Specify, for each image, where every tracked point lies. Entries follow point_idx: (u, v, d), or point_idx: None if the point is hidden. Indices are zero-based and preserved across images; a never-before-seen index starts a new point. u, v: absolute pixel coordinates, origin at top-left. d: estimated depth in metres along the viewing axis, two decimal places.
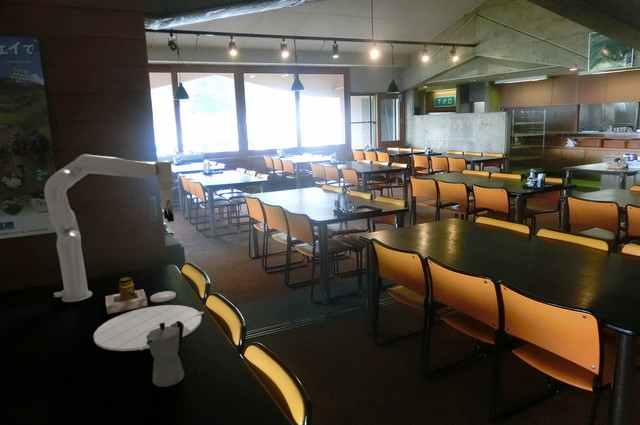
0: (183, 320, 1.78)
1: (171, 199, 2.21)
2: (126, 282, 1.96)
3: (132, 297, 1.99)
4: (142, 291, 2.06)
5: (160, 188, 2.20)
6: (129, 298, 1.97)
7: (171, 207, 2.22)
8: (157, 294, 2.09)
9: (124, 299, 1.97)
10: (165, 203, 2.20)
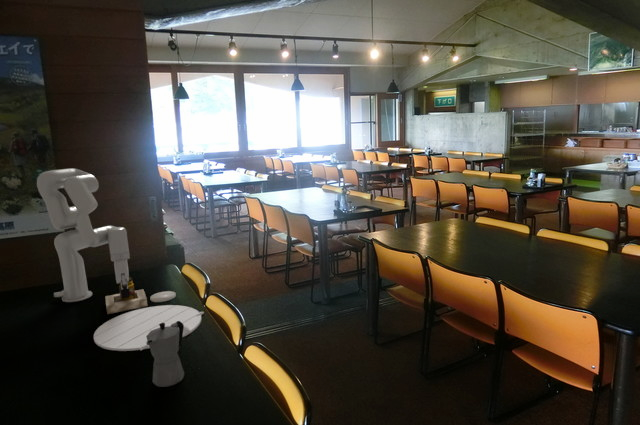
0: (183, 320, 1.78)
1: (125, 272, 1.94)
2: None
3: (132, 297, 1.99)
4: (142, 291, 2.06)
5: (113, 259, 1.93)
6: (129, 298, 1.98)
7: (126, 280, 1.95)
8: (157, 294, 2.09)
9: (124, 299, 1.97)
10: (119, 277, 1.92)
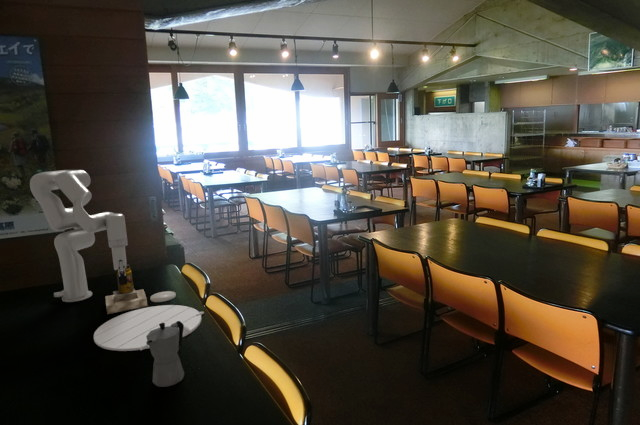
0: (183, 320, 1.78)
1: (123, 259, 1.93)
2: None
3: (130, 284, 1.98)
4: (142, 291, 2.06)
5: (111, 246, 1.92)
6: (126, 285, 1.97)
7: (124, 267, 1.94)
8: (157, 294, 2.09)
9: (121, 286, 1.96)
10: (116, 263, 1.92)
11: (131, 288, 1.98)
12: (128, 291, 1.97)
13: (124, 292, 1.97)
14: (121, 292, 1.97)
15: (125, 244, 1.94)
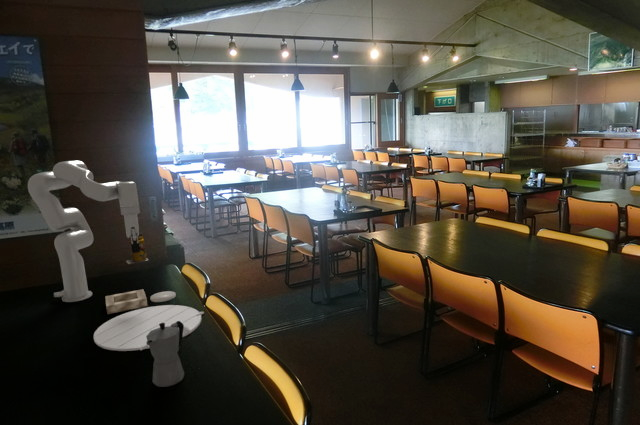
0: (183, 320, 1.78)
1: (135, 226, 1.93)
2: None
3: (142, 252, 1.98)
4: (142, 291, 2.06)
5: (123, 213, 1.92)
6: (139, 253, 1.96)
7: (136, 235, 1.94)
8: (157, 294, 2.09)
9: (134, 254, 1.96)
10: (129, 230, 1.92)
11: (144, 256, 1.98)
12: (141, 259, 1.97)
13: (137, 260, 1.97)
14: (134, 260, 1.97)
15: (137, 212, 1.94)
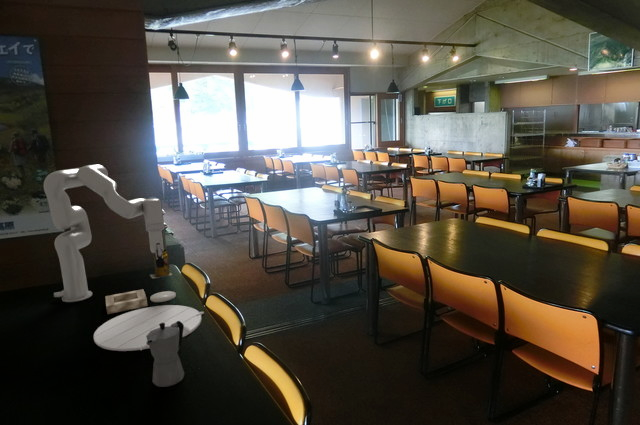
0: (183, 320, 1.78)
1: (160, 242, 1.98)
2: None
3: (166, 267, 2.03)
4: (142, 291, 2.06)
5: (149, 229, 1.98)
6: (163, 268, 2.02)
7: (161, 250, 1.99)
8: (157, 294, 2.09)
9: (159, 269, 2.02)
10: (154, 246, 1.97)
11: (168, 271, 2.04)
12: (165, 274, 2.03)
13: (161, 275, 2.02)
14: (158, 275, 2.02)
15: (162, 228, 2.00)
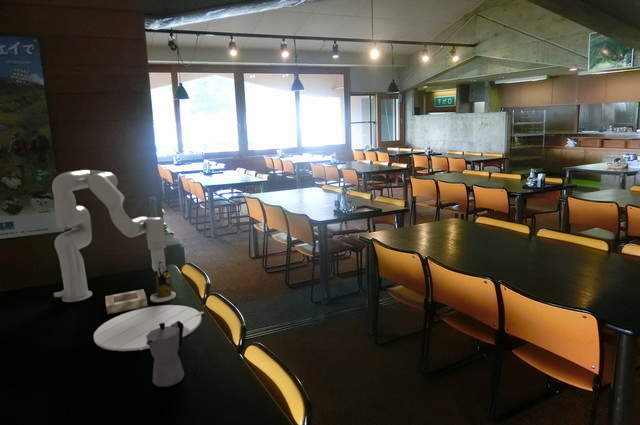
0: (183, 320, 1.78)
1: (162, 260, 2.00)
2: None
3: (168, 288, 2.05)
4: (142, 291, 2.06)
5: (151, 248, 1.99)
6: (165, 289, 2.04)
7: (163, 268, 2.01)
8: None
9: (161, 289, 2.04)
10: (156, 265, 1.99)
11: (169, 291, 2.06)
12: (167, 294, 2.05)
13: (163, 295, 2.04)
14: (160, 295, 2.05)
15: (164, 246, 2.02)
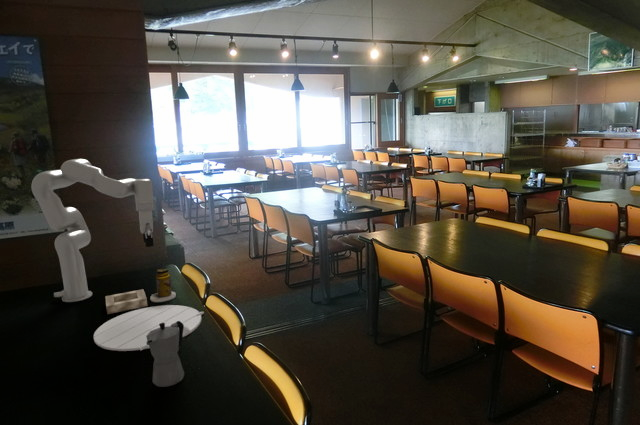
0: (183, 320, 1.78)
1: (150, 222, 1.99)
2: (162, 273, 2.03)
3: (168, 288, 2.05)
4: (142, 291, 2.06)
5: (139, 209, 1.98)
6: (165, 289, 2.04)
7: (150, 230, 2.00)
8: None
9: (161, 289, 2.04)
10: (144, 226, 1.98)
11: (169, 291, 2.06)
12: (167, 294, 2.05)
13: (163, 295, 2.04)
14: (160, 295, 2.05)
15: (152, 208, 2.01)
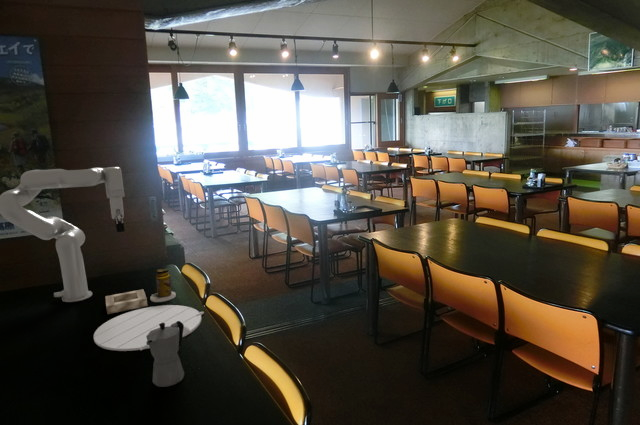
0: (183, 320, 1.78)
1: (120, 208, 2.07)
2: (162, 273, 2.03)
3: (168, 288, 2.05)
4: (142, 291, 2.06)
5: (109, 196, 2.06)
6: (165, 289, 2.04)
7: (121, 216, 2.08)
8: None
9: (161, 289, 2.04)
10: (114, 212, 2.06)
11: (169, 291, 2.06)
12: (167, 294, 2.05)
13: (163, 295, 2.04)
14: (160, 295, 2.05)
15: (122, 195, 2.08)
